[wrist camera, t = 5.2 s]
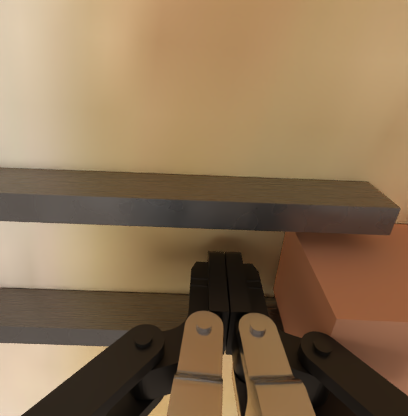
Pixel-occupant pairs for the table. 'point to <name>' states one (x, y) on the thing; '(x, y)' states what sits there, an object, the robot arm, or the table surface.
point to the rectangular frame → (162, 217)
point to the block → (349, 294)
